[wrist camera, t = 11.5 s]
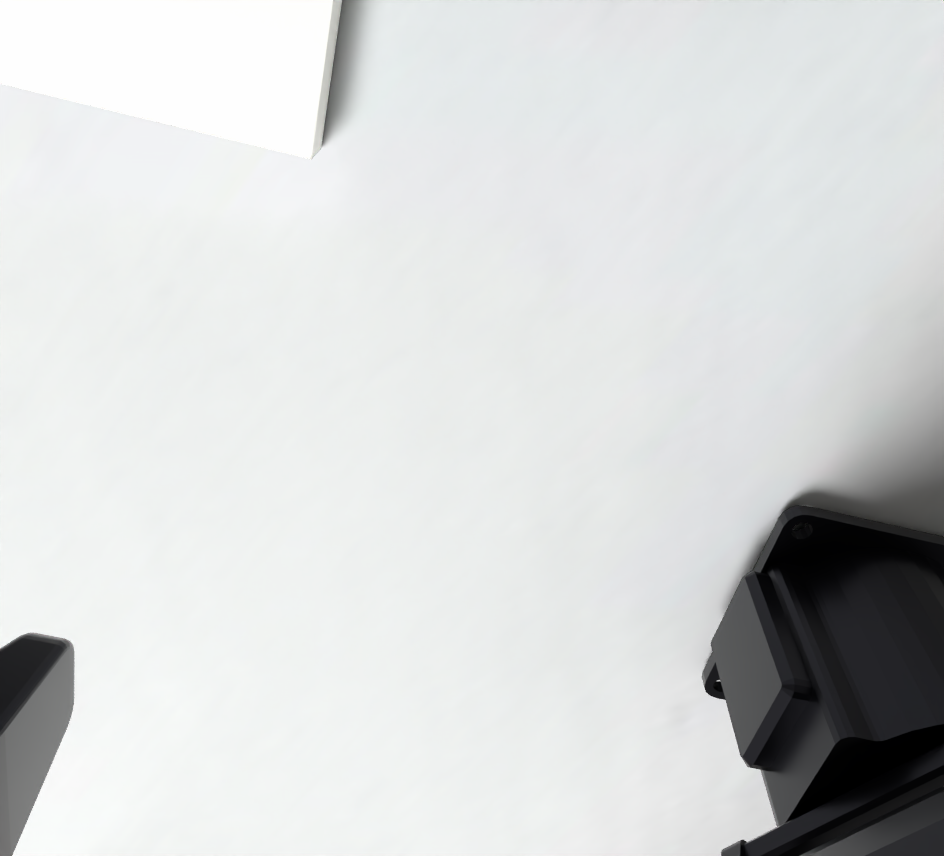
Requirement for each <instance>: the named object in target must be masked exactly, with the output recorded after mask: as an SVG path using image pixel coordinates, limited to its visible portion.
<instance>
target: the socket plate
mask: <svg viewBox="0 0 944 856" xmlns="http://www.w3.org/2000/svg"><path fill="white" fill-rule="evenodd" d="M341 5H342V0H0V84H4V85H8V86H12V87H16V88H20V89H25V90H29V91H33V92H37V93H41V94H45V95H49V96H53V97H57V98H61V99H66V100H70V101H74V102H78V103H82V104H86V105H90V106H94V107H98V108H102V109H107V110H111V111H115V112H119V113H123V114H127V115H131V116H135V117H139V118H143V119H148V120H152V121H156V122H160V123H164V124H168V125H172V126H176V127H180V128H184V129H189V130H193V131H197V132H201V133H205V134H209V135H213V136H217V137H221V138H225V139H230V140H234V141H238V142H242V143H246V144H250V145H254V146H258V147H262V148H266V149H271V150H275V151H279V152H283V153H287V154H291V155H295V156H299V157H303V158H307V159H312V158H313V157H314V156H315V155H316V154H317V153H318V152H319V151H320V150H321V146H322V139H323V132H324V125H325V118H326V111H327V104H328V97H329V90H330V82H331V75H332V68H333V61H334V54H335V47H336V40H337V33H338V26H339V19H340V12H341Z"/></svg>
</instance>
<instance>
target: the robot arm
mask: <svg viewBox="0 0 944 856" xmlns="http://www.w3.org/2000/svg"><path fill="white" fill-rule="evenodd" d="M799 523H808V524H807V525H806V526H805V527H804V528H802V529H800V530H793V528H794V526H795V525H797V524H799ZM711 647H712V651H713V652H712V654H711V656H710V658H709V660H708V662H707V664H706V666H705V668H704V670H703V673H702V679H703V683H704V687H705V690H706V692H707V693H708V694H709V695H710V696H713V697H715V698H719V699H724V700H726V703H727V707H728V711H729V714H730V718H731V722H732V725H733V729H734V733H735V737H736V740H737V744H738V748H739V752H740V755H741V757H742V759H743V760H744V762H745V763H746V765H747V767H751V768H756V769H761V773H762V776H763V780H764V783H765V786H766V790H767V793H768V797H769V800H770V804H771V807H772V811H773V814H774V818H775V821H776V825H777V827H776V828H774V829H772V830H770V831H768V832H766V833H764V834H763V835H761V836H759V837H757V838H755V839H753V840H751V841H749V842H746V841H744V840H740V841H738V842H736V843H735V844H733V845H731V846H729V847H727V848H725V849H723V850H722V852H721V856H944V537H942V536H937V535H933V534H928V533H924V532H919V531H915V530H910V529H906V528H902V527H897V526H893V525H888V524H884V523H879V522H875V521H870V520H866V519H862V518H857V517H853V516H848V515H844V514H839V513H835V512H831V511H826V510H822V509H817V508H813V507H808V506H795V507H791V508H789V509H787V510H786V511H784V512H783V513H782V515H781V516H780V517H779V519H778V521H777V523H776V525H775V527H774V529H773V531H772V533H771V535H770V537H769V539H768V541H767V543H766V545H765V547H764V549H763V551H762V553H761V555H760V557H759V559H758V561H757V563H756V565H755V567H754V569H753V571H751V572H749V573H748V574H747V575H745V576H744V577H743V578H742V580H741V582H740V584H739V586H738V588H737V590H736V592H735V594H734V596H733V598H732V600H731V603H730V605H729V607H728V609H727V611H726V613H725V615H724V617H723V619H722V621H721V623H720V625H719V627H718V629H717V631H716V633H715V635H714V637H713V639H712V642H711ZM719 679H720V681H717V680H719ZM73 705H74V648H73V645H72V643H71V642H70V641H68V640H66V639H63V638H58V637H53V636H48V635H43V634H38V633H27V634H24V635H21V636H20V637H18V638H16V639H15V640H13V641H11V642H10V643H8V644H7V645H5V646H4V647H2V648H0V856H12V855H13V852H14V850H15V848H16V845H17V843H18V841H19V838H20V836H21V834H22V831H23V829H24V827H25V824H26V822H27V820H28V817H29V815H30V813H31V810H32V808H33V806H34V803H35V801H36V799H37V796H38V794H39V792H40V789H41V787H42V785H43V783H44V780H45V778H46V776H47V773H48V771H49V769H50V766H51V764H52V762H53V759H54V757H55V755H56V752H57V750H58V748H59V745H60V743H61V741H62V738H63V736H64V734H65V731H66V729H67V727H68V724H69V721H70V718H71V714H72V710H73Z"/></svg>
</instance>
